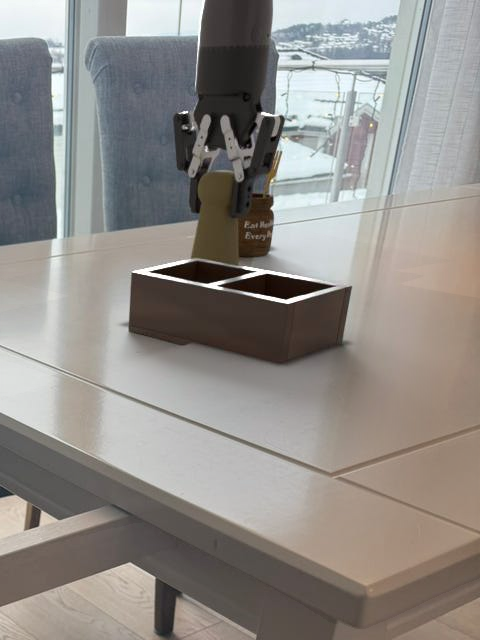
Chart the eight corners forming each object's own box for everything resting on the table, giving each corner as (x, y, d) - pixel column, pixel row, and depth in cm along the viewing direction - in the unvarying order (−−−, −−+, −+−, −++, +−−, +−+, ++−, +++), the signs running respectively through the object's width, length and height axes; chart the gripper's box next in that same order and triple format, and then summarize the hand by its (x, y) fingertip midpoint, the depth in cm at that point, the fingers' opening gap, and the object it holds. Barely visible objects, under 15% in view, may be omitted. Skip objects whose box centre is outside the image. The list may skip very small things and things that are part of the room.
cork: (177, 273, 112) (184, 171, 106) (208, 265, 115) (216, 166, 109) (218, 280, 108) (228, 175, 102) (249, 272, 112) (260, 170, 106)
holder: (190, 314, 98) (195, 257, 95) (341, 349, 86) (352, 285, 83) (128, 330, 93) (131, 271, 90) (278, 370, 81) (288, 303, 78)
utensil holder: (214, 252, 125) (224, 151, 119) (251, 247, 127) (262, 148, 121) (244, 259, 121) (256, 155, 114) (281, 253, 123) (294, 152, 117)
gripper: (312, 40, 96) (289, 217, 106) (204, 43, 106) (191, 205, 115) (268, 41, 92) (248, 225, 102) (159, 44, 102) (150, 213, 111)
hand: (218, 214), depth 108 cm, fingers closed on cork, 5 cm apart
